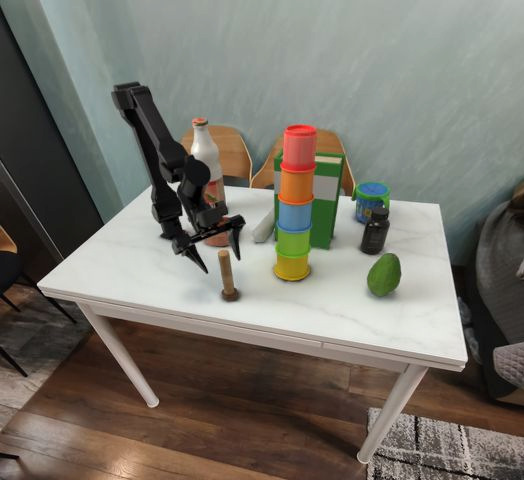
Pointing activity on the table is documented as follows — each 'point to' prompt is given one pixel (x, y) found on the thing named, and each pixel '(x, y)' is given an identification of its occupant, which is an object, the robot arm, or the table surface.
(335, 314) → the table surface
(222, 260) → the muddler
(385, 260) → the avocado
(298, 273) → the stacking cups
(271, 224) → the tube
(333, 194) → the hardback book
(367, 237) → the supplement bottle
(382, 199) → the snack cup
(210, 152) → the fruit juice
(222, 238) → the bowl
